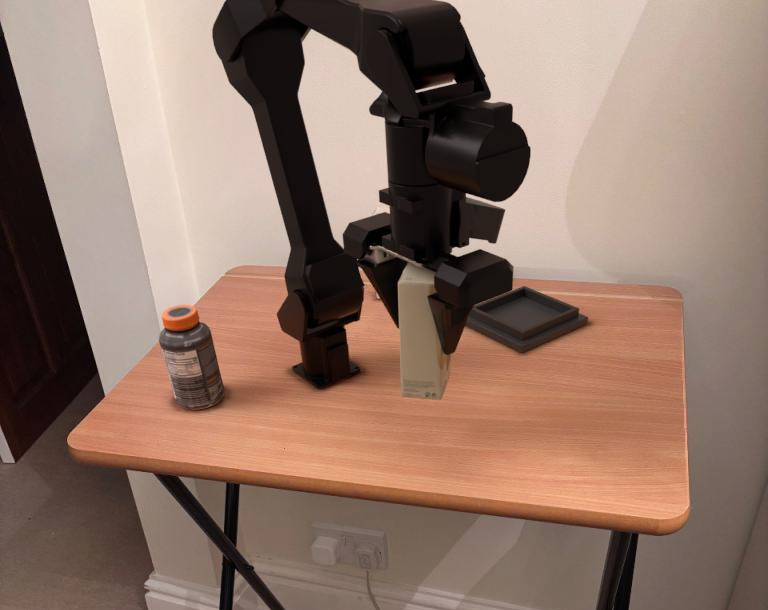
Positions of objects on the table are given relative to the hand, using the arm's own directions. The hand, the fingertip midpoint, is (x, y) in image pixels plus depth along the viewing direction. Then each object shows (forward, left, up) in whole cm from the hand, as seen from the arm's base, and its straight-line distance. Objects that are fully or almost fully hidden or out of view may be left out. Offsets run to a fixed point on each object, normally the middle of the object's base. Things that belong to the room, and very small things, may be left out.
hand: (425, 340), depth 77 cm
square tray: (-13, +26, -11) cm, 32 cm away
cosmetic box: (0, 0, -5) cm, 5 cm away
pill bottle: (-25, -16, -12) cm, 31 cm away
